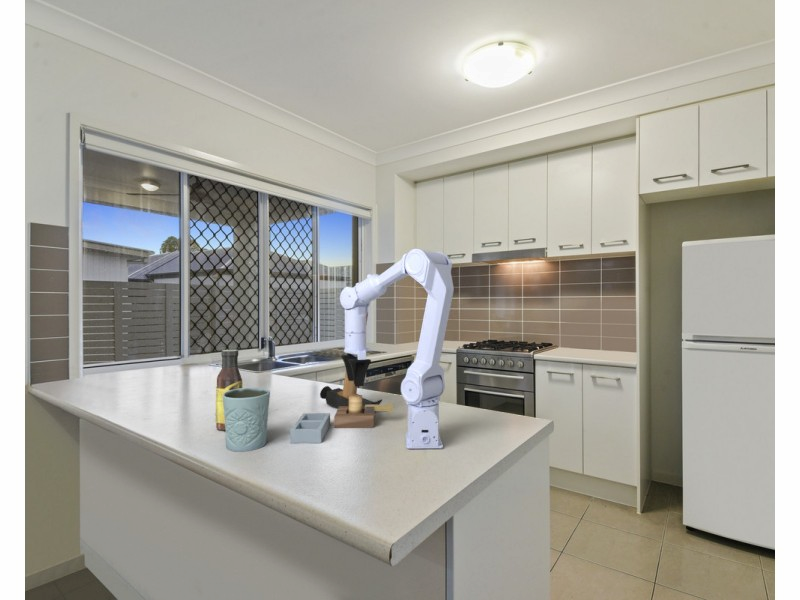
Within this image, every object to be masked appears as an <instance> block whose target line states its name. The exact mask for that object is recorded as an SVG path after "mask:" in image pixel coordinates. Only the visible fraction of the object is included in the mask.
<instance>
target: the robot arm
mask: <svg viewBox="0 0 800 600" xmlns="http://www.w3.org/2000/svg"><path fill="white" fill-rule="evenodd" d="M452 267H453V263H452V261H451V260H450V259H449V258H448V256H447V255H446V254H445V253H444V252H442V251H431V250H423V249H420V248H413V249H411V250H410V251H409V252H407V253H405V254H403V255H402V257H401V259H399V260H398V261H397V262H396V263H394V264H393V265H391V266H390V267H389V268H387V269H386V270H385V271H383V272H382V273H381V274H377V273H369V274H367V276H366V278H364V279H363V280H362V281H360V282H357V283H355V285H354V286H353V287H351V286H346V287H344V288H343V289H342V290H341V292H340V295H339V301H340V305H341V306H342V308H344V349H343V352H344V353H345V354H342V355H341V360H342V361H343V363H344V367H345V372H347V377H348V381H354V385H355V387H357V388H358V387H364V386H365V379H366V375H367V371H368V369H369V366H370V364H371V363H372V360H371V359H369V358H368V359H367V352H371V350H372V349H371V348H370V347H367V324H366V315H367V313H368V314H369V307H370V305H371V302H373V301H375V300H376V299H378V298H379V297H381V296H383V295H385V293H386V292H387V291H388V290H387V289H388V287H389V286H391V285H393V284H394V283H396V282H397V283H398V282H399V281H401V280H402V279H405V278H406V277H409V276H410V277H411V278H412V279H414V280H415V281H416V282H417V283H419V284H420V285H421V286H422V287H423V289H424V290H425V291H426V293H427V297H426V303H425V308H424V313H423V319H422V324H421V330H420V336H419V341H418V345H417V350H416V355H415V359H414V361H413V362H412V363H411V365H409V366H408V368H407V370H406V374H405V377H404V378H403V379H402V381H401V383H400V394H401V396H402V398H403V400H404V401H405V404H406V405H407V432H405V443H406V449H410V450H411V449H418V450H419V449H444V445H443V442H442V439H441V436H440V433H439V431H440V427H439V426H440V425H439V424H440V421H439V420H440V413H439V410H440V406H439V405H440V404H439V403H440V400H441V396H442V395H443V393H444V392H445V390H446V389H445V388H446V383H445V378H444V377H445V369H444V368H443V367H442V366H441V365H440V361H441V357H442V351H443V347H444V342H445V337H446V332H447V331H446V330H447V326H448V321H449V316H450V312H451V308H452V307H451V305H452V299H453V296H454V288H455V287H454V283H453V282H454V281H453V276H452Z"/></svg>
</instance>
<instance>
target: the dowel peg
mask: <svg viewBox="0 0 800 600" xmlns="http://www.w3.org/2000/svg"><path fill="white" fill-rule="evenodd" d="M362 398H363V395H362V394H358V395H350V396H349V413H362Z"/></svg>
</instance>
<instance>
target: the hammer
mask: <svg viewBox="0 0 800 600" xmlns="http://www.w3.org/2000/svg"><path fill="white" fill-rule="evenodd" d="M368 316H369V312H368V313H367V315H366V325H367V322H368ZM357 391H358V386H357V387H355V385H354V381H348V377H347V372H346V371H345V375H344V381H343V387H342V388H340V387H337V388H334V389H332V388H331V387H330V386H328V385H326V386H324V387H322V388H321V390H320V393H319V398H321V399H323V400H325V402H326V403H325V404H326V405H329V406H331V407H334V408H336V409H338V408H339V406H349V396H350V395H359V393H357ZM382 401H383V399H379V400H376V401H372V400H369V399H367V398H364V397H362V406H365V405H366V404H375V405H381V403H382Z"/></svg>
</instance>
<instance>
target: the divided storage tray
mask: <svg viewBox="0 0 800 600" xmlns="http://www.w3.org/2000/svg"><path fill="white" fill-rule="evenodd" d="M330 426H331V412H314V413H312V412H310V413H309V412H303V413H302V414H301V416H300V417H299V418H298V419H297V420H296V422H295V423H294V425H293V426H292V427H291V429H290V432H289V434H290V435H289V438H290V439H289V441H290V442H289V443H290V444H321V443H322V442H323V440H324V438H325V436H326V434H327V431H328V429H329V427H330Z"/></svg>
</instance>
